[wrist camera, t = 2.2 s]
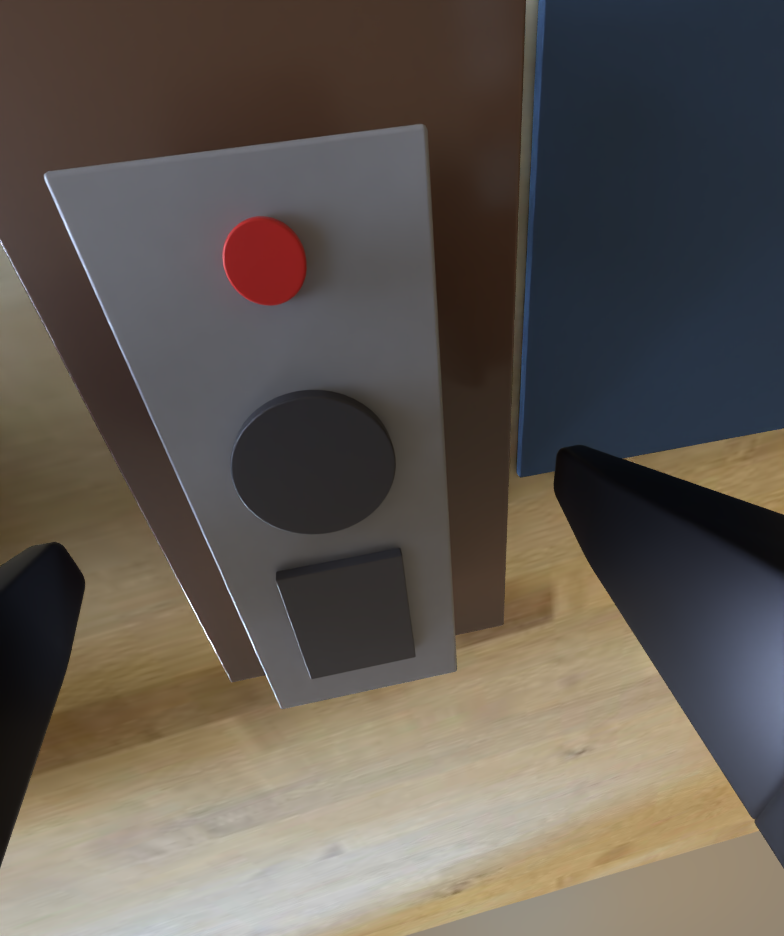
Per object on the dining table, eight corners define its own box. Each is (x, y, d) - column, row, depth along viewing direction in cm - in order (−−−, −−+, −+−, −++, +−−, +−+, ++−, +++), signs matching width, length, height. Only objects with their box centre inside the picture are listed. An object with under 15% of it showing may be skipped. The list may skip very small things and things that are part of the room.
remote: (431, 587, 14) (461, 683, 11) (284, 617, 13) (280, 722, 11) (391, 137, 8) (435, 120, 5) (121, 172, 7) (24, 172, 5)
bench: (458, 521, 20) (504, 625, 15) (248, 561, 19) (230, 683, 15) (437, 11, 11) (531, -100, 7) (48, 54, 10) (-150, -37, 6)
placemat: (827, 414, 20) (836, 418, 20) (515, 472, 19) (519, 478, 19) (1248, -504, 9) (1284, -529, 9) (559, -481, 8) (571, -511, 8)
